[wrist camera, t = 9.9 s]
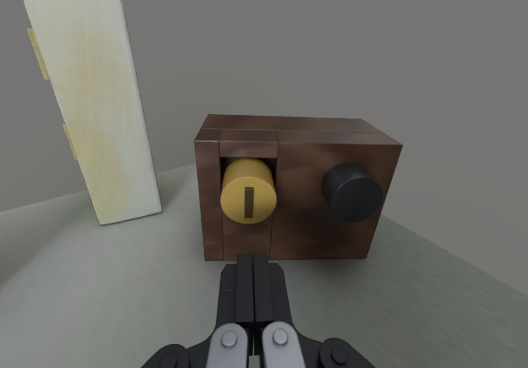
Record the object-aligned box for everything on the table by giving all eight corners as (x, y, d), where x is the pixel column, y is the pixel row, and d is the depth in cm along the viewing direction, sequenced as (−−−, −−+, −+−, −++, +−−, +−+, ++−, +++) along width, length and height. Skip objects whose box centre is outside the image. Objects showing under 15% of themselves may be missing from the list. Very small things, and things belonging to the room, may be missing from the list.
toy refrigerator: (95, 194, 33) (33, 0, 23) (154, 183, 37) (122, 8, 27) (91, 229, 27) (4, -14, 17) (162, 213, 30) (125, -1, 20)
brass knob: (220, 227, 18) (218, 178, 16) (224, 199, 22) (223, 156, 20) (275, 227, 19) (279, 179, 17) (270, 199, 22) (273, 156, 20)
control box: (200, 284, 22) (186, 154, 16) (213, 212, 31) (208, 113, 25) (379, 280, 23) (425, 158, 17) (340, 212, 32) (361, 118, 27)
